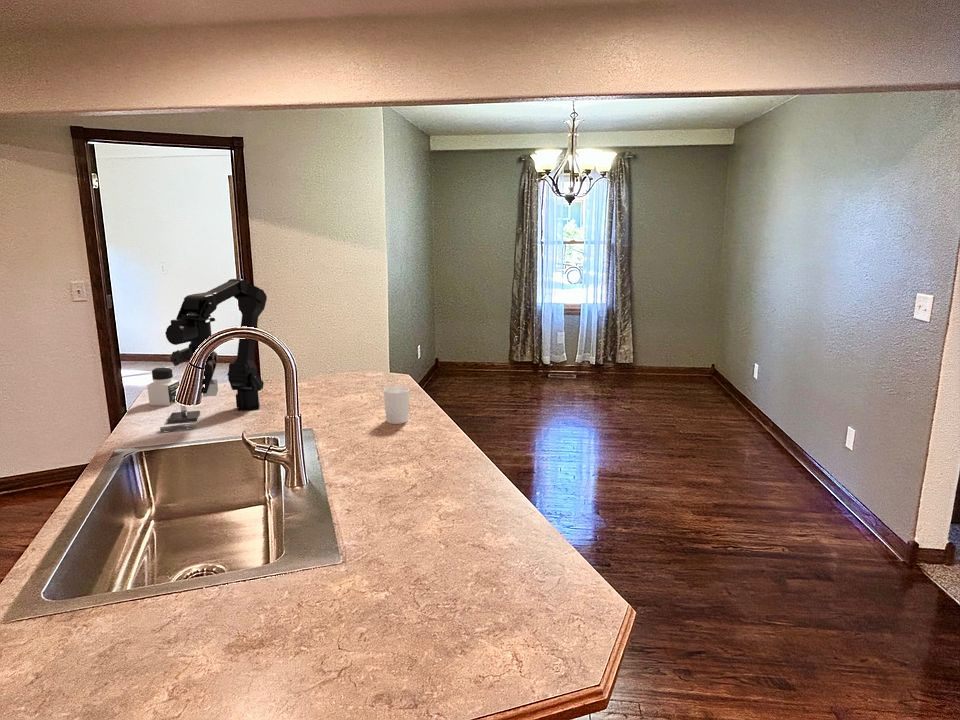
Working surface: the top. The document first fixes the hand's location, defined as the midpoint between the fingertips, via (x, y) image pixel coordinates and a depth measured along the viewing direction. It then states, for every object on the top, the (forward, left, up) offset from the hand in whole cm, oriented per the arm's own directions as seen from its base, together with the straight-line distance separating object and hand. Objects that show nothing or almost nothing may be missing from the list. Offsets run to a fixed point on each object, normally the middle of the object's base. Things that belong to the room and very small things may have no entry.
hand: (205, 390), depth 178 cm
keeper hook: (+8, -10, -11) cm, 16 cm away
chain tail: (+8, +1, -11) cm, 13 cm away
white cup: (-55, +12, -11) cm, 57 cm away
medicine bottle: (+16, -30, -11) cm, 36 cm away
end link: (0, 0, -1) cm, 1 cm away
